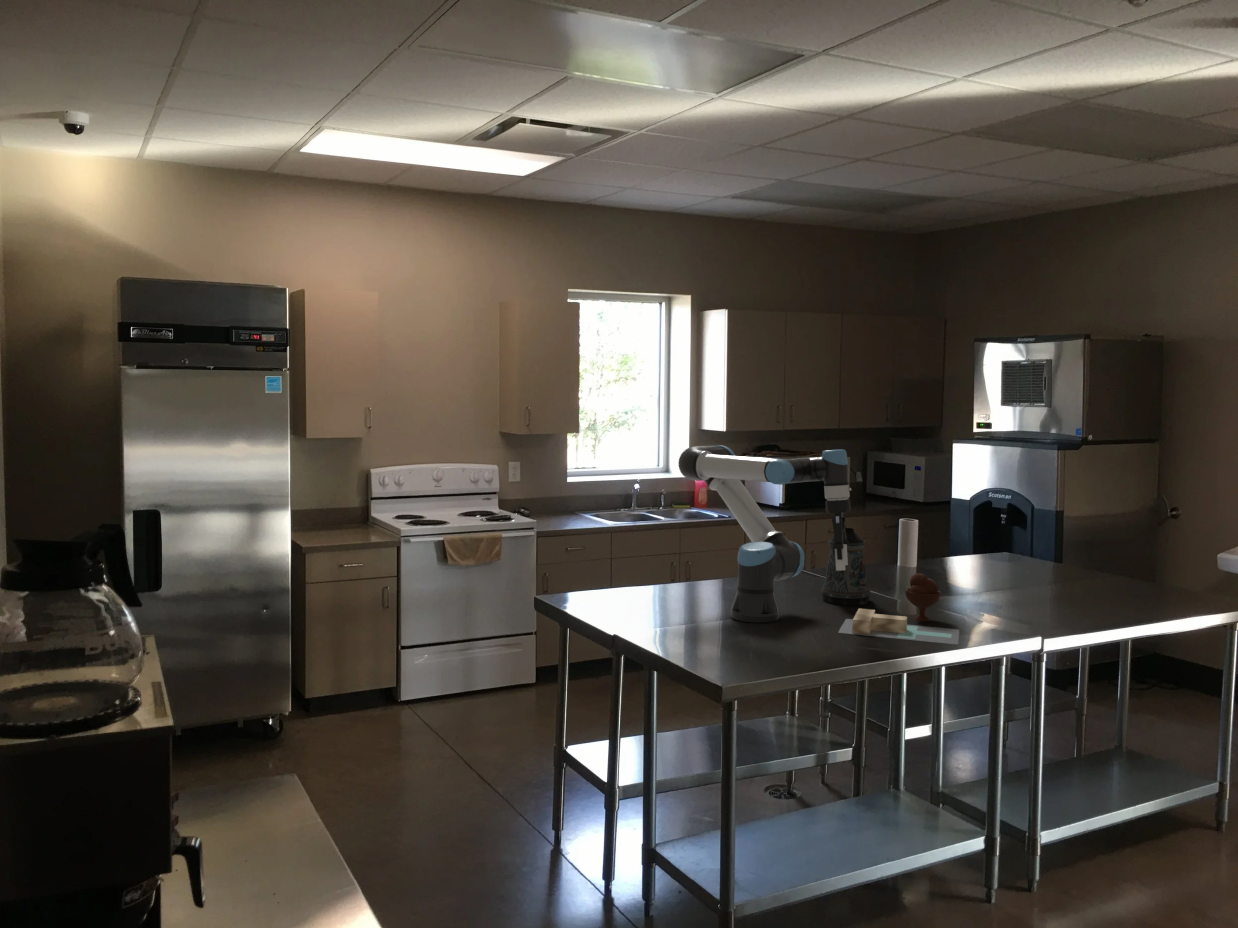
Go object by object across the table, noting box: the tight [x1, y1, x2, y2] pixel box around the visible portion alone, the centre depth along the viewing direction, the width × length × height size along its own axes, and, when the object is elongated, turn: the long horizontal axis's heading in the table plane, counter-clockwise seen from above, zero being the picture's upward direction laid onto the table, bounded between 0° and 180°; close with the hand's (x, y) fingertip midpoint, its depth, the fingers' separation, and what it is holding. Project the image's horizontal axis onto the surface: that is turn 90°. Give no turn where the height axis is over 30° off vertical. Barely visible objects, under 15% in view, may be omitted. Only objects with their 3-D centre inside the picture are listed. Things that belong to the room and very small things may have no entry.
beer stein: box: [820, 527, 871, 606], centre depth 343 cm, size 16×19×25 cm
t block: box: [852, 608, 908, 634], centre depth 303 cm, size 15×16×4 cm
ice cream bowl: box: [904, 573, 941, 622], centre depth 316 cm, size 11×11×15 cm
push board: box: [837, 618, 960, 645], centre depth 301 cm, size 34×19×1 cm, turn 70°
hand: (842, 567), depth 309 cm, fingers open, 13 cm apart
